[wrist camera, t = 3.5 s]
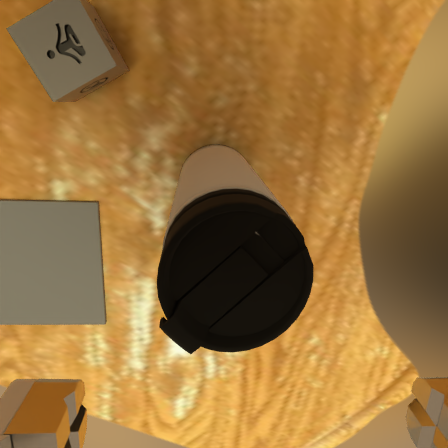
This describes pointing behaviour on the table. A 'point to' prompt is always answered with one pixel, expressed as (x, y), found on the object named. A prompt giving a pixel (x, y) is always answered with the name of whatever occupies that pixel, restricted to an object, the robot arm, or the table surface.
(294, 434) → the table surface
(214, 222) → the travel mug
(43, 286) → the mat
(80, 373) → the table surface
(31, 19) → the dice cube
